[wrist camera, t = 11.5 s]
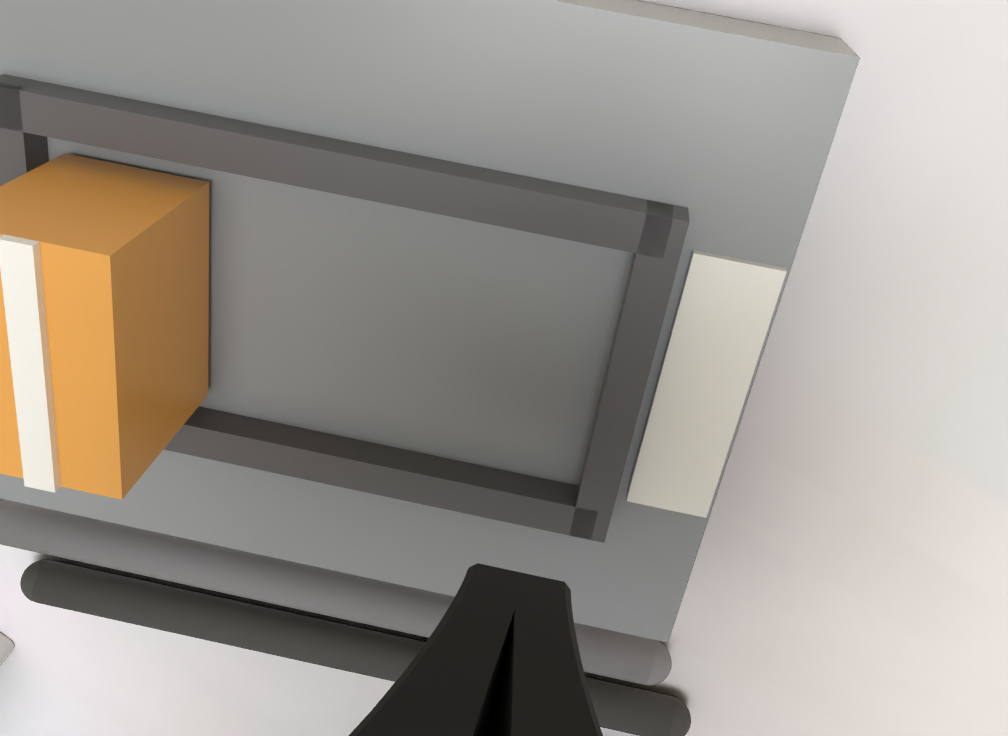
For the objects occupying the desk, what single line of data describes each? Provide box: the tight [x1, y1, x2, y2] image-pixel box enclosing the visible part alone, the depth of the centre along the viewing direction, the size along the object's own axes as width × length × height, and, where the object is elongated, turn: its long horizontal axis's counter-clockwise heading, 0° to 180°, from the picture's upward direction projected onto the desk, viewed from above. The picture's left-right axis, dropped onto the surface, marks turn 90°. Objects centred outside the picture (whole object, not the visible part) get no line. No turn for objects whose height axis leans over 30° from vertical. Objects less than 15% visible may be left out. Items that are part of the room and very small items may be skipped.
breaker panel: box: [0, 0, 860, 643], centre depth 21 cm, size 18×14×3 cm
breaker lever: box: [0, 153, 209, 500], centre depth 19 cm, size 3×5×4 cm, turn 171°
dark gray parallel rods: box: [0, 500, 691, 736], centre depth 27 cm, size 3×20×1 cm, turn 81°
